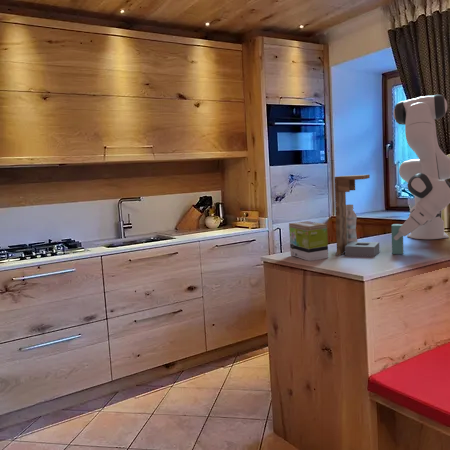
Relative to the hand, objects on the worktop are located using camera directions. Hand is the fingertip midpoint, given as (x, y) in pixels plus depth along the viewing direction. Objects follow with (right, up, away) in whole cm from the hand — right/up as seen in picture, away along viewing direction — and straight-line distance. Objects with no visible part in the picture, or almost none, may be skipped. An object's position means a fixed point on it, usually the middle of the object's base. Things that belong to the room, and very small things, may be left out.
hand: (395, 238), depth 191 cm
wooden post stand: (-15, -7, +7) cm, 18 cm away
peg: (+1, -6, 0) cm, 6 cm away
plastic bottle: (-14, -5, +20) cm, 24 cm away
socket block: (-12, -7, +5) cm, 15 cm away
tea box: (-36, -9, +4) cm, 37 cm away
